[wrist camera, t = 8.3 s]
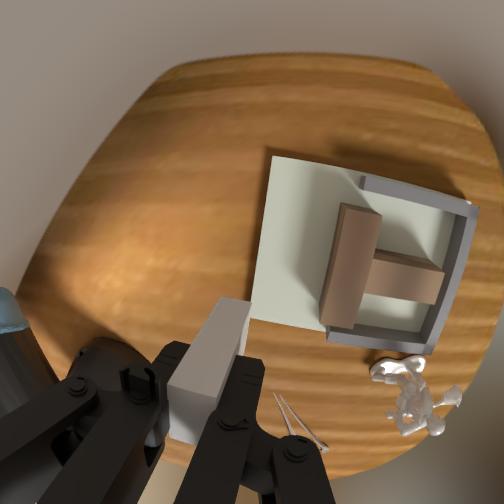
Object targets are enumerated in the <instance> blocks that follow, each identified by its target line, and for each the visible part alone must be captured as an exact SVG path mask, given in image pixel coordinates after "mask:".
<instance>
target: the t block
mask: <svg viewBox="0 0 504 504" xmlns="http://www.w3.org/2000/svg"><path fill="white" fill-rule="evenodd" d="M382 217H383V216H382V215H381V214H379V213H378V212H376V211H375V210H373V209H371V208H366V207H361V206H356V205H352V204H347V203H342V202H340V207H339V213H338V218H337V223H336V228H335V233H334V238H333V243H332V248H331V253H330V257H329V262H328V266H327V271H326V275H325V279H324V284H323V288H322V292H321V296H320V300H319V321H320V324H323V325H329V326H335V327H341V328H348V329H353V327H354V324H355V320H356V317H357V314H358V311H359V307H360V304H361V301H362V297H363V294H364V293H366V294H372V295H378V296H384V297H390V298H396V299H402V300H408V301H414V302H420V303H427V304H433V305H435V302H436V299H437V296H438V293H439V290H440V287H441V284H442V281H443V278H444V275H445V273H444V272H443V271H442V270H441V269H440V268H439V267H438V266H436V265H435V264H434V263H433V262H432V261H431V260H429V259H426V258H421V257H416V256H411V255H406V254H402V253H397V252H392V251H387V250H382V249H377V248H376V244H377V240H378V235H379V231H380V226H381V222H382Z"/></svg>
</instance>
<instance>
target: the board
mask: <svg viewBox="0 0 504 504" xmlns="http://www.w3.org/2000/svg"><path fill="white" fill-rule="evenodd" d="M340 202H342V203H347V204H352V205H356V206H361V207H366V208H371V209H373V210H375V211H376V212H378V213H379V214H381V215H382V216H383V217H382V222H381V226H380V231H379V235H378V240H377V244H376V248H377V249H382V250H387V251H392V252H397V253H402V254H406V255H411V256H416V257H421V258H426V259H429V260H431V261H432V262H433V263H434V264H435V265H436V266H438V267H439V268H440V269H441V270H442V271H443V272H444V273H445V275H444V278H443V281H442V284H441V287H440V290H439V293H438V296H437V299H436V302H435V305H433V304H427V303H420V302H414V301H408V300H402V299H396V298H390V297H384V296H378V295H372V294H366V293H364V294H363V297H362V301H361V304H360V307H359V311H358V314H357V317H356V320H355V324H354V327H353V329H348V328H341V327H335V326H329V325H323V324H320V321H319V300H320V296H321V292H322V288H323V284H324V279H325V275H326V271H327V266H328V262H329V257H330V253H331V248H332V243H333V238H334V233H335V228H336V223H337V218H338V213H339V207H340ZM478 213H479V207H476V206H473V205H471V202H470V201H467V200H464V199H461V198H457V197H454V196H451V195H448V194H444V193H441V192H438V191H434V190H431V189H427V188H424V187H420V186H417V185H413V184H409V183H405V182H402V181H398V180H394V179H390V178H386V177H381V176H377V175H373V174H369V173H364V172H360V171H355V170H350V169H346V168H341V167H336V166H331V165H325V164H320V163H315V162H309V161H303V160H297V159H291V158H285V157H279V156H272V163H271V170H270V177H269V184H268V190H267V197H266V204H265V211H264V217H263V224H262V231H261V237H260V244H259V251H258V257H257V264H256V270H255V277H254V284H253V290H252V297H251V302H252V308H251V314H250V318H255V319H259V320H264V321H269V322H275V323H280V324H285V325H290V326H296V327H301V328H307V329H312V330H318V331H324V332H326V338H327V342H331V343H338V344H344V345H351V346H358V347H365V348H373V349H380V350H388V351H397V352H406V353H416V354H426V355H431V354H432V351H433V349H434V347H435V345H436V343H437V340H438V338H439V336H440V333H441V331H442V329H443V326H444V324H445V321H446V319H447V316H448V314H449V311H450V309H451V306H452V303H453V301H454V298H455V295H456V292H457V289H458V286H459V283H460V280H461V277H462V274H463V271H464V268H465V264H466V261H467V257H468V254H469V250H470V247H471V243H472V239H473V235H474V231H475V227H476V222H477V218H478Z"/></svg>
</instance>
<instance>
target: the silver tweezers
mask: <svg viewBox="0 0 504 504" xmlns="http://www.w3.org/2000/svg"><path fill="white" fill-rule="evenodd" d="M273 394H274V392H273ZM274 396H275V398H276V400H277V402H278V404H279V406H280V408H281V411H282V413H283V416H284V418H285V420H286V422H287V425H288V428H289V430H290V433H291V435H296V434H295V432H294V430H293V429H292V427H291V425H290V423H289V421H288V418H287V416H286V414H285V412H284V410H283V408H282V405H281V404H280V402H279V400H278V399H277V397H276V395H275V394H274ZM280 397H281V396H280ZM281 399H282V400H283V402H284V404H285V405H286V406H287V407H288V409H289V410H290V412H291V413H292V414H293V416H294V417H295V418H296V419H297V421H298V422H299V423H300V424H301V425H302V427H303V428H304V429H305V430H306V431H307V432H308V433H309V434H310V436H311V437H312V438H313V439H314V441H315V442H316V443H317V444H318V445H319V446H321V448H322V452H321V453H325V452H327V451H328V450H329V448H328V447H327V446H326V445H325V444H323V443H322V442H321V441H320V440H319V439H318V438H317V437H316V436H315V435H314V434H313V433H312V432H311V431H310V430H309V429H308V428H307V427H306V426H305V424H304V423H303V422H302V421H301V420H300V419H299V418H298V417H297V415H296V414H295V413H294V412H293V411H292V409H291V408H290V407H289V406H288V404H287V403H286V402H285V401H284V399H283V398H282V397H281Z"/></svg>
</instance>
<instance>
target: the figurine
mask: <svg viewBox="0 0 504 504" xmlns="http://www.w3.org/2000/svg"><path fill="white" fill-rule="evenodd" d="M425 363H426V359H425V357H424V356H423V355H413V356H410V357H407V358H405V359H403V360H394V359H390V358H385V359H382V360H380V361H379V362H377V363H376V364H375V365H374V366H373V367H372V368H371V370H370V375H371V377H372V380H373V381H382V382H385V384H398V385H399V387H400V389H401V390H402V393H401V394H400V395H399V396H398V399H397V401H396V406H397V408H398V411H397V412H393V411H387V410H386V411H385V414H386V416H387V419H390V418H395V420H394V422H395V424H396V426H397V428H398V430H399V432H400V434H401V435H402V436H406V435H409V434H411V433H413V432H415V431H417V430H419V429H421V428H424V427H425V426H427V427H426V428H427V431H428V432H429V434H431V435H434V436H436V435H440V434H441V433H443V431H444V429H445V420H444V419H442V418H440V416H438V415H433V414H432V412H433V408H434V407H436V406H439V405H441V404H446V405H449V404H455V405H457V404H458V405H459V404H461V403H460V401H461V397H462V393H461V387H459V386H458V385H453V387H452V388H451V389H449V390H447V391H445V392H444V393H443V394H442V400H441V401H439V402H436V403H434V404H433V399H432V396H431V393H430V391H429V388H428V387H425V385H426V380H425V379H424V378H423V377H422V375H421V374H420V372H421V371H422V370H423V368H424V366H425ZM400 372H408V373H409V374H410V376H411V380H412V381H411V380H410V379H409V378H408V377H407V376H405V375H403V374H398V373H400ZM458 405H457V406H458ZM405 416H407V417H411V416H412V417H413V421H412V422H410V423H408V424H406V423H405V422H404V417H405Z"/></svg>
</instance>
